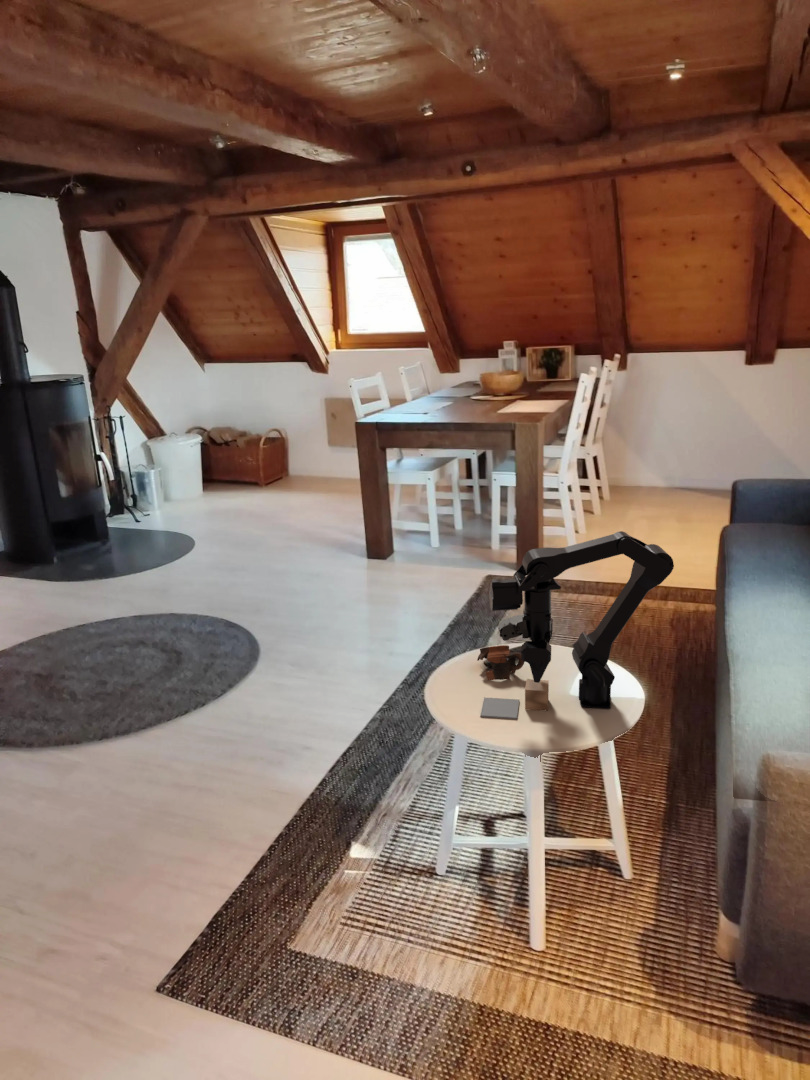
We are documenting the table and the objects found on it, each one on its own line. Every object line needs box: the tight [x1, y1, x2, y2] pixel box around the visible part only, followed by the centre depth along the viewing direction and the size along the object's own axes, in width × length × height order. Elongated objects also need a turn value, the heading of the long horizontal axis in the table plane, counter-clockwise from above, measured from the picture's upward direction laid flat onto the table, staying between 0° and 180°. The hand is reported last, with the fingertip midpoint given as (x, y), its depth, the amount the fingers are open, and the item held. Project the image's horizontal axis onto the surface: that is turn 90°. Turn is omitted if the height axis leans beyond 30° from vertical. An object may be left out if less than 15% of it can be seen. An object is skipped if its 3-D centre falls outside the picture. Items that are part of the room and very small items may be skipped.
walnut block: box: [524, 678, 550, 712], centre depth 174 cm, size 5×5×5 cm
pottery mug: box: [476, 644, 526, 681], centre depth 190 cm, size 12×10×8 cm
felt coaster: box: [480, 696, 520, 720], centre depth 174 cm, size 8×8×1 cm
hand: (537, 672), depth 173 cm, fingers open, 9 cm apart
